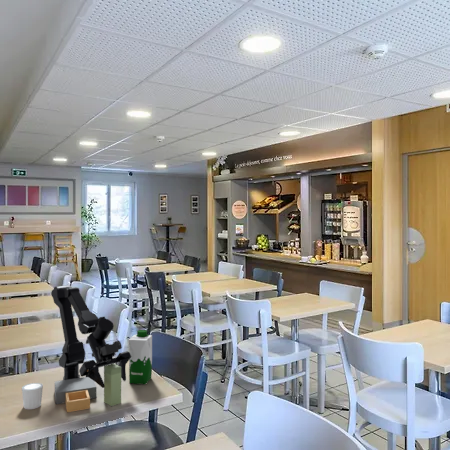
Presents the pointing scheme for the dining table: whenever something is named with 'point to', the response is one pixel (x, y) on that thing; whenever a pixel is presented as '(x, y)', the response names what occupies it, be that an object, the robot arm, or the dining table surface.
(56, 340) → the dining table surface
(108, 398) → the green tall box
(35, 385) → the white cup
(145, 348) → the milk carton
